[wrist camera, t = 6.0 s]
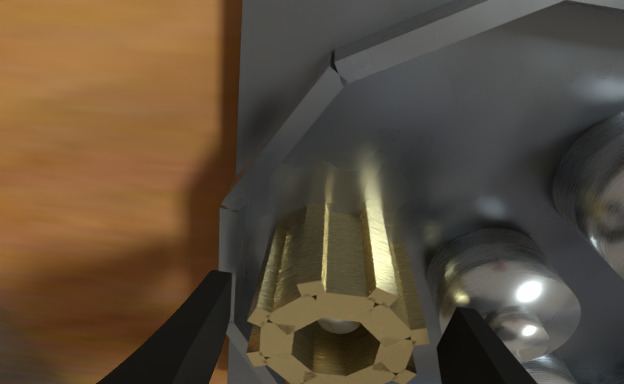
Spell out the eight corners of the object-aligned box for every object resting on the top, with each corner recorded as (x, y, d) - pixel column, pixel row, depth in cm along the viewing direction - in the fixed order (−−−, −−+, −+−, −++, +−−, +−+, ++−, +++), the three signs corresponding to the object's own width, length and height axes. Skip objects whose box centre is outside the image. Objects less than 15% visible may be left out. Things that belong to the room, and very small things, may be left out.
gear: (420, 213, 13) (449, 296, 10) (388, 316, 16) (402, 409, 12) (271, 195, 13) (248, 270, 10) (265, 301, 16) (245, 389, 12)
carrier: (935, 42, 11) (1322, 80, 6) (581, 414, 21) (643, 523, 16) (254, -72, 10) (197, -110, 6) (232, 364, 20) (205, 462, 16)
